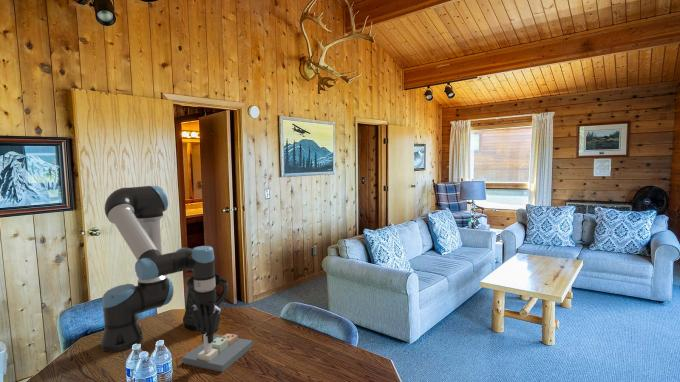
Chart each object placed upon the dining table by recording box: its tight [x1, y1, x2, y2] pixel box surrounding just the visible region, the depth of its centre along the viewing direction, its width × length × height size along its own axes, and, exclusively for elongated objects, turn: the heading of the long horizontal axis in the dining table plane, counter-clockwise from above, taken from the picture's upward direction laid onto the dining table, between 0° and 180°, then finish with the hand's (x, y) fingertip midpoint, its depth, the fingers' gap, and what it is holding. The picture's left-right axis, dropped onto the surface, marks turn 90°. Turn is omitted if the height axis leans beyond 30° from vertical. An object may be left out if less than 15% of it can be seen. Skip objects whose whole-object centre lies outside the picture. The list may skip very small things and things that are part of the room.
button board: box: [181, 333, 254, 373], centre depth 143 cm, size 18×19×2 cm
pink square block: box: [221, 332, 239, 346], centre depth 148 cm, size 5×5×4 cm
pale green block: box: [212, 337, 228, 353], centre depth 143 cm, size 5×5×4 cm
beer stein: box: [182, 271, 229, 332], centre depth 171 cm, size 16×19×25 cm
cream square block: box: [198, 348, 218, 362], centre depth 137 cm, size 5×5×4 cm
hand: (208, 350), depth 137 cm, fingers closed
